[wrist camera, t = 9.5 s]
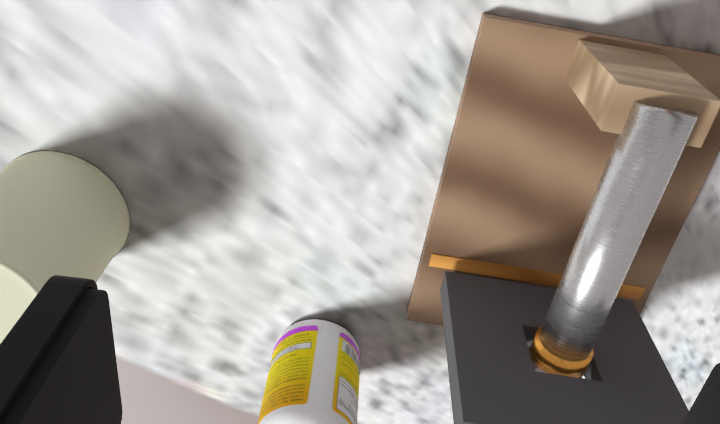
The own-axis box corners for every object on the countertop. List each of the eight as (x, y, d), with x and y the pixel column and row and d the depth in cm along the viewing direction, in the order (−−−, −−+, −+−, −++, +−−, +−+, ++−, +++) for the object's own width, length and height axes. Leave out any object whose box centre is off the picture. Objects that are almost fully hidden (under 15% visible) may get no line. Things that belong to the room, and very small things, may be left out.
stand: (482, 12, 37) (504, 57, 30) (751, 60, 38) (838, 115, 30) (407, 311, 48) (409, 396, 41) (616, 343, 49) (655, 433, 42)
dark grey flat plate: (445, 271, 44) (463, 421, 33) (632, 300, 44) (713, 459, 33) (440, 289, 45) (456, 443, 33) (623, 318, 45) (699, 479, 34)
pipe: (619, 88, 32) (642, 114, 29) (685, 100, 32) (715, 126, 29) (507, 380, 42) (516, 421, 39) (559, 388, 42) (571, 430, 39)
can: (20, 124, 42) (-102, 220, 32) (151, 195, 44) (77, 306, 34) (-21, 225, 46) (-140, 339, 36) (102, 285, 48) (22, 409, 38)
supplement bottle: (263, 363, 52) (228, 509, 40) (292, 303, 48) (262, 443, 37) (342, 390, 53) (328, 539, 41) (375, 333, 49) (369, 477, 38)
